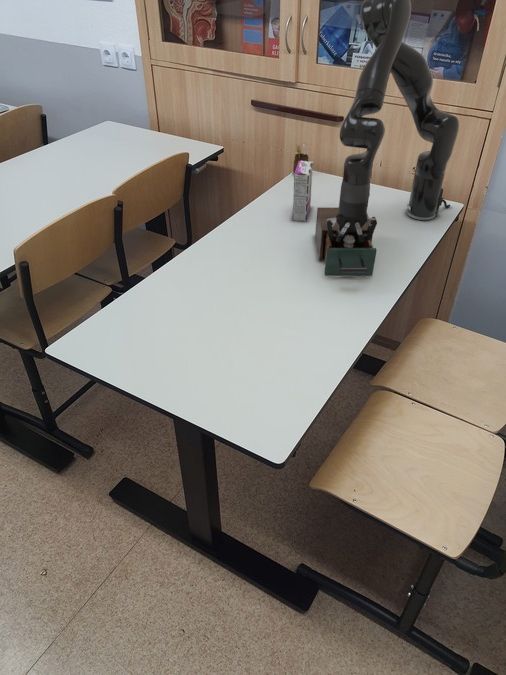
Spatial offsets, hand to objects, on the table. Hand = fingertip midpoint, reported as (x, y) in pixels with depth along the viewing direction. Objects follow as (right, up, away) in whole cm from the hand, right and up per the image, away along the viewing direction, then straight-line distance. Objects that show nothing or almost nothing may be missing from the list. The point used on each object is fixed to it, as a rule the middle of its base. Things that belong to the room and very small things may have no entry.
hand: (347, 251), depth 151 cm
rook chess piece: (0, -3, +2) cm, 4 cm away
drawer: (0, -5, +1) cm, 5 cm away
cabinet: (0, +3, +12) cm, 12 cm away
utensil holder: (-8, +40, +57) cm, 70 cm away
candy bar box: (-10, +17, +30) cm, 36 cm away
